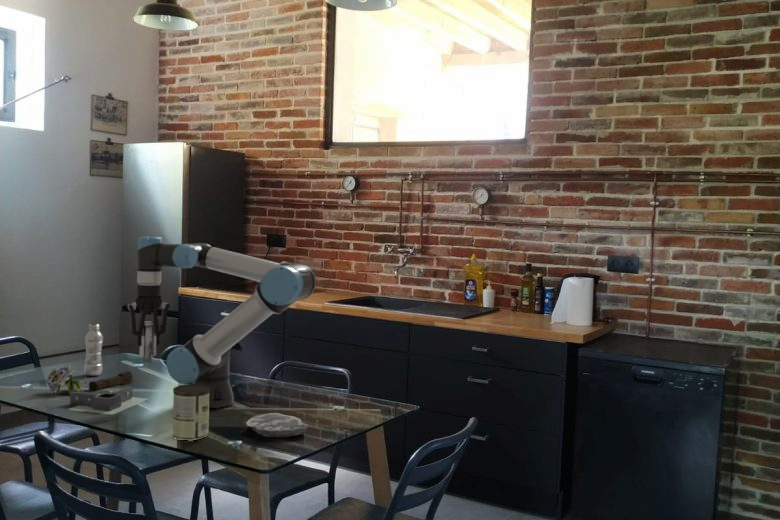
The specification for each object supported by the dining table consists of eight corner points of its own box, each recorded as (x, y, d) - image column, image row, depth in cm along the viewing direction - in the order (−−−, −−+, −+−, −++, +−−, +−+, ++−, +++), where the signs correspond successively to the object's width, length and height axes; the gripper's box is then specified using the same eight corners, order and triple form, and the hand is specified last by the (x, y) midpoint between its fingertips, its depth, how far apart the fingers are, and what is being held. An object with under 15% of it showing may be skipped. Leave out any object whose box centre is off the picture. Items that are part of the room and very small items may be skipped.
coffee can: (177, 430, 213) (178, 383, 212) (212, 431, 214) (213, 384, 213) (167, 441, 203) (168, 391, 202) (204, 442, 203) (205, 393, 203)
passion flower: (53, 410, 248) (37, 380, 250) (81, 398, 256) (66, 369, 258) (65, 397, 241) (49, 366, 243) (94, 386, 250) (78, 356, 252)
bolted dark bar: (132, 397, 245) (133, 386, 245) (115, 405, 235) (115, 392, 235) (129, 397, 245) (129, 386, 245) (111, 404, 235) (111, 392, 235)
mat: (148, 400, 245) (149, 398, 245) (112, 416, 225) (112, 414, 225) (107, 395, 249) (107, 394, 249) (67, 411, 228) (67, 409, 228)
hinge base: (121, 406, 234) (121, 394, 234) (109, 411, 228) (110, 398, 228) (77, 401, 238) (77, 389, 238) (65, 406, 232) (65, 394, 232)
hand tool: (95, 393, 253) (96, 380, 252) (87, 391, 254) (88, 378, 254) (137, 383, 269) (138, 371, 269) (129, 382, 271) (130, 370, 271)
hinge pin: (155, 360, 237) (156, 321, 236) (149, 363, 233) (150, 323, 232) (145, 360, 238) (146, 321, 237) (139, 362, 234) (139, 322, 233)
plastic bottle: (84, 374, 280) (85, 323, 279) (103, 373, 282) (104, 323, 281) (82, 377, 274) (83, 325, 273) (101, 377, 276) (102, 325, 275)
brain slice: (233, 429, 217) (233, 419, 217) (279, 420, 229) (279, 411, 229) (270, 445, 204) (271, 435, 203) (317, 435, 215) (318, 425, 215)
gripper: (171, 282, 241) (169, 351, 243) (120, 283, 233) (119, 355, 234) (177, 284, 235) (175, 355, 236) (125, 285, 226) (124, 359, 228)
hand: (147, 355), depth 235 cm, fingers closed on hinge pin, 3 cm apart
